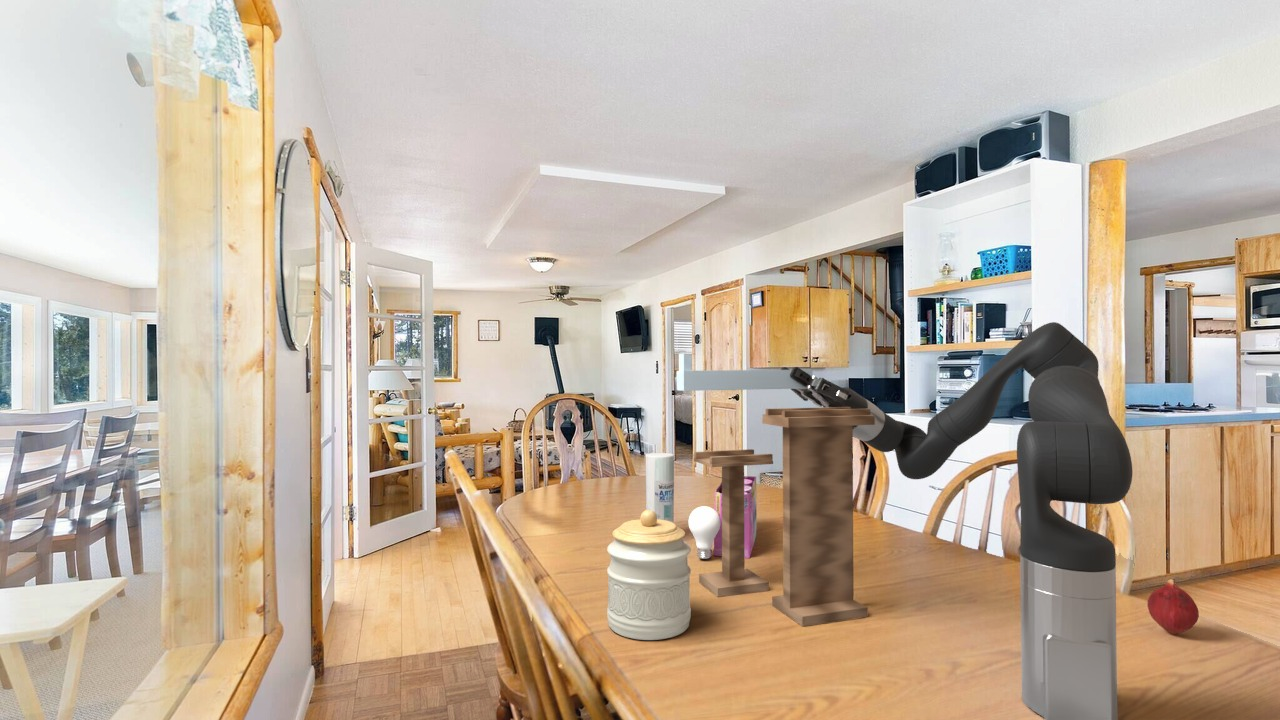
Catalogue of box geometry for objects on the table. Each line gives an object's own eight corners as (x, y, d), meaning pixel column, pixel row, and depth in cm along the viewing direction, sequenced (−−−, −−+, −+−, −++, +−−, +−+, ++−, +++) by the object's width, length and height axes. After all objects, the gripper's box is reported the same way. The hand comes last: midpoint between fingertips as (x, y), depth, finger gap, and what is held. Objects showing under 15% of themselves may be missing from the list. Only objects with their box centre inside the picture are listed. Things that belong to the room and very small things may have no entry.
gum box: (750, 561, 130) (750, 495, 130) (712, 558, 132) (712, 493, 132) (757, 531, 153) (757, 476, 153) (724, 530, 155) (724, 474, 155)
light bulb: (682, 561, 129) (682, 507, 130) (696, 553, 135) (696, 501, 135) (712, 566, 126) (712, 511, 126) (725, 557, 132) (725, 505, 132)
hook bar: (802, 387, 122) (802, 354, 122) (812, 388, 118) (812, 353, 118) (676, 390, 114) (676, 354, 114) (683, 390, 110) (683, 353, 110)
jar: (617, 647, 90) (617, 522, 90) (599, 613, 102) (599, 504, 102) (703, 636, 93) (703, 516, 93) (675, 604, 106) (675, 499, 106)
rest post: (752, 576, 120) (751, 449, 121) (773, 590, 113) (773, 454, 113) (694, 582, 116) (693, 451, 117) (712, 597, 109) (712, 457, 109)
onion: (1208, 644, 90) (1207, 588, 90) (1162, 640, 91) (1161, 585, 92) (1182, 627, 96) (1182, 575, 96) (1139, 624, 97) (1139, 572, 97)
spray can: (661, 537, 148) (660, 451, 149) (680, 542, 143) (679, 454, 144) (639, 541, 144) (639, 454, 144) (658, 548, 139) (658, 457, 139)
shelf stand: (843, 596, 110) (842, 406, 110) (878, 615, 101) (876, 409, 102) (761, 607, 105) (760, 408, 105) (791, 628, 96) (790, 411, 96)
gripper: (840, 396, 130) (776, 354, 126) (886, 399, 117) (816, 353, 112) (825, 428, 129) (759, 387, 125) (870, 435, 116) (798, 389, 111)
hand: (787, 371), depth 119 cm, fingers closed on hook bar, 3 cm apart
